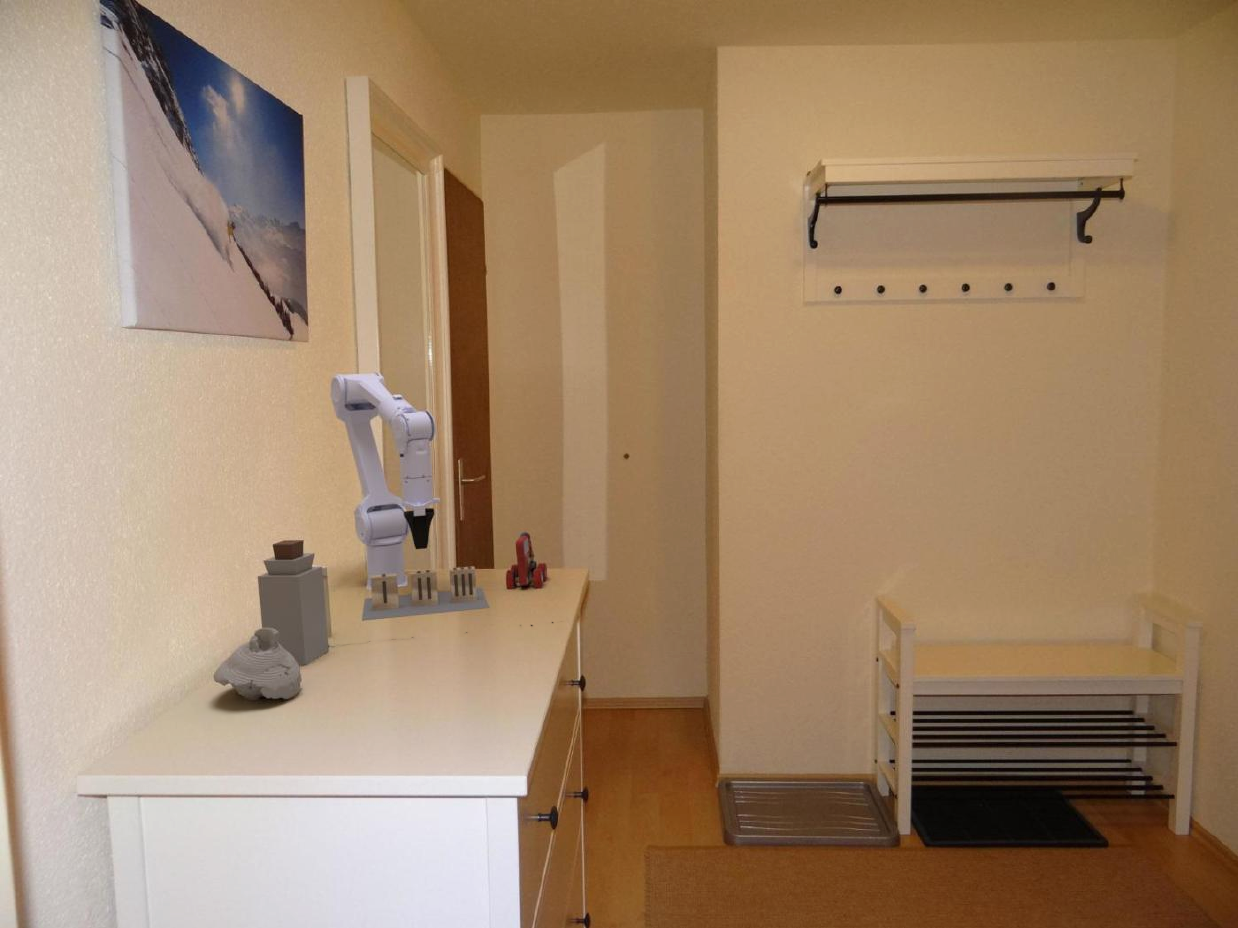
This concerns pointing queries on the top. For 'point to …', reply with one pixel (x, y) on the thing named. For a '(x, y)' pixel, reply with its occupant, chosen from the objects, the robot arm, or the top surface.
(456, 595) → the tile three
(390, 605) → the tile one
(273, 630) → the grey clay mound
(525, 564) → the red wheeled toy
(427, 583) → the tile two
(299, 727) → the top surface
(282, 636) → the perfume bottle
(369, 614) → the mat
